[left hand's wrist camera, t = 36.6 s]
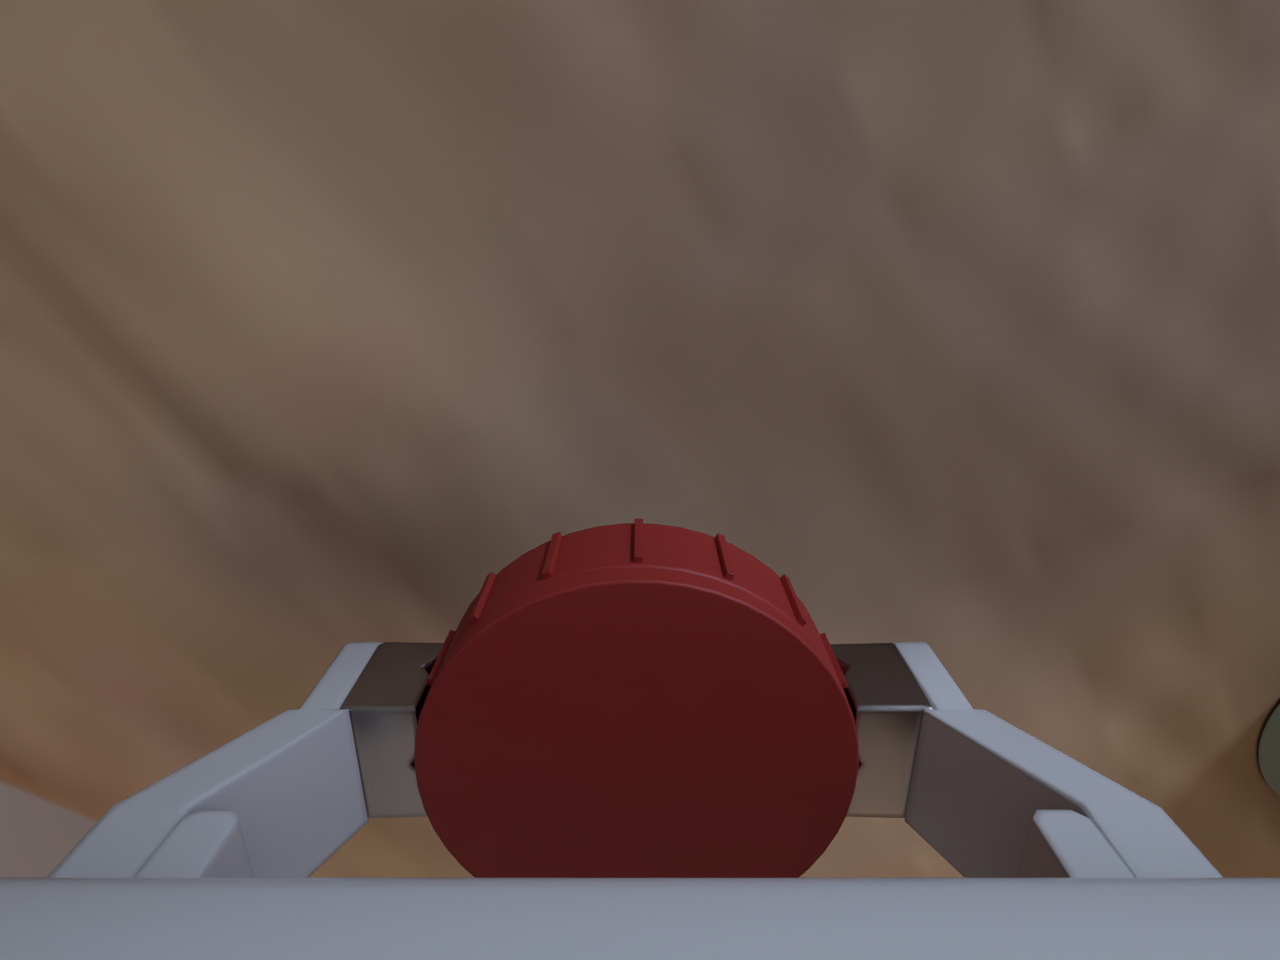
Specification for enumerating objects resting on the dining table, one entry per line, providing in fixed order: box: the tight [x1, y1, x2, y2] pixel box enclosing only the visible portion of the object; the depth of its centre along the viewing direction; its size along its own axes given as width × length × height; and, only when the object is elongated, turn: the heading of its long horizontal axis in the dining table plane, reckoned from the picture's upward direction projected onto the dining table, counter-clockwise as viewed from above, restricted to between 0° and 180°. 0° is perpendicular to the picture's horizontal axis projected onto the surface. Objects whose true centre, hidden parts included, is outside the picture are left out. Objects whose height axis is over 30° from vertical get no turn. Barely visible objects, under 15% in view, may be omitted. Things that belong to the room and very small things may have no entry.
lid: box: [414, 519, 859, 878], centre depth 10 cm, size 6×6×2 cm
